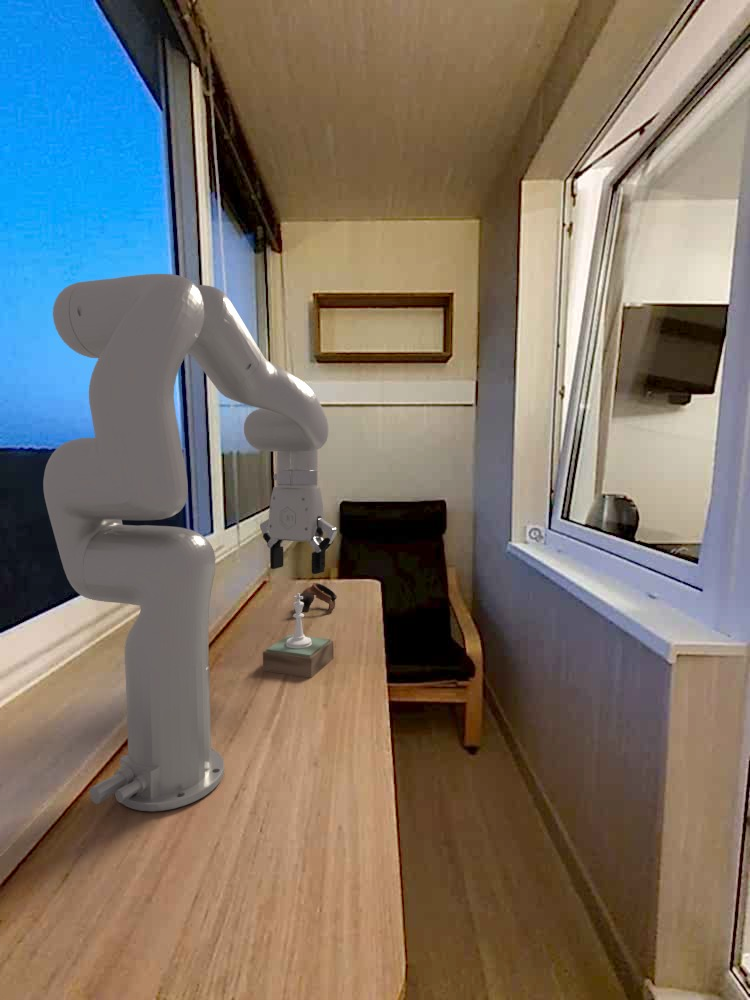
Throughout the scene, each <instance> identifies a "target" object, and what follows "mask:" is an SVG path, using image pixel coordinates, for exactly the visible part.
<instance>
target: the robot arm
mask: <svg viewBox="0 0 750 1000" xmlns="http://www.w3.org/2000/svg"><path fill="white" fill-rule="evenodd" d="M52 318H53V325H54V327H55V330H56V331H57V334H58V335H59V336H60V339H61V340H62V341H63V343H65V345H66V346H68V347H69V348H70V349H71V350H73V351H74V352H75V353H77V354H79V355H80V356H83V357H87V358H90V359H97V361H96V363H95V365H94V367H93V371H92V373H91V377H90V380H89V385H88V400H89V402H88V403H89V409H90V415H91V420H92V426H93V432H94V437H82V438H81V437H80V438H76V439H71V440H69V441H68V440H67V441H66V442H64V443H63V444H61V445H60V446H58V447H57V448H56V449H55V450H54V451H53V452H52V453H51V456H49V459H48V461H47V463H46V465H45V469H44V473H43V474H44V475H43V482H42V483H43V484H42V485H43V486H42V487H43V489H42V490H43V495H44V500H45V501H44V502H45V504H46V509H47V513H48V516H49V521H50V524H51V527H52V531H53V535H54V539H55V543H56V546H57V547H56V548H57V549H58V552H59V556H60V557H59V558H60V560H61V564H62V568H63V570H64V574H65V575H66V579H67V581H68V582H69V584H70V586H71V587H72V588H73V590H74V591H75V592H76V593H77V594H79V596H81V597H84V598H86V599H88V600H92V601H97V602H104V603H114V604H115V603H117V604H127V605H133V606H138V607H140V611H139V613H138V616H137V618H136V619H135V621H134V623H133V624H132V625H131V628H130V630H129V631H128V634H127V636H126V639H125V644H124V666H125V667H124V670H125V673H124V674H125V696H126V700H125V701H126V721H127V722H126V723H127V724H126V725H127V726H126V727H127V748H128V749H127V752H128V753H127V754H125V755H123V756H122V757H120V758H119V764H120V767H119V768H118V769H117V770H115V771H114V773H113V775H112V776H110V777H108V778H105V779H103V780H102V781H100V782H98V783H97V784H95V785H93V786H91V787H90V788H89V797H90V800H91V801H92V802H93V803H94V804H95V805H98V804H100V803H102V802H104V801H105V800H107V799H108V798H110V797H112V796H114V795H115V799H116V801H117V802H118V803H120V804H122V805H123V806H125V807H128V808H130V809H132V810H136V811H141V812H163V811H168V810H174V809H178V808H181V807H185V806H187V805H190V804H192V803H194V802H197V801H199V800H200V799H202V798H204V797H206V796H207V795H208V794H210V793H211V792H212V791H213V790H214V789H215V788H216V787H218V786H219V784H220V783H221V781H222V780H223V777H224V775H225V762H224V758H223V756H222V755H221V754H220V753H219V752H218V751H217V750H215V749H213V748H212V740H211V739H212V737H211V732H212V731H211V698H210V697H211V696H210V657H209V655H210V654H209V653H210V652H209V651H210V650H209V649H210V648H209V618H210V604H211V603H210V602H211V597H212V590H213V584H214V581H215V580H214V579H215V571H216V556H215V551H214V548H213V546H212V544H211V543H210V542H209V540H208V539H207V538H206V537H205V536H204V535H202V534H201V533H199V532H197V531H195V530H193V529H189V528H185V527H180V526H169V525H148V524H146V525H145V524H144V525H131V524H123V521H156V520H157V521H158V520H165V519H169V518H171V517H174V516H175V515H176V514H179V512H181V511H182V510H183V508H184V507H185V505H186V502H187V500H188V495H189V493H188V490H189V488H188V486H189V485H188V476H187V475H188V474H187V470H186V469H187V468H186V463H185V459H184V457H185V456H184V452H183V447H182V441H181V437H180V430H179V424H178V420H177V413H176V406H175V397H174V396H175V384H176V379H177V375H178V374H179V371H180V368H181V366H182V363H184V362H183V361H184V360H185V358H186V356H187V355H189V356H191V357H192V358H193V360H194V361H195V362H196V363H197V364H198V366H199V367H200V368H201V369H202V371H203V373H204V374H205V375H206V376H207V377H208V379H209V381H210V382H211V383H212V385H214V387H215V388H216V389H217V391H218V392H219V393H220V394H221V395H222V396H223V397H226V398H227V399H229V400H232V401H235V402H236V403H237V402H238V403H240V404H243V405H246V406H250V407H254V408H257V409H255V410H253V411H252V412H251V413H249V414H248V415H247V417H246V418H245V420H244V424H243V433H244V437H245V440H246V441H247V443H248V444H249V445H250V446H251V447H252V448H254V449H256V450H258V451H261V452H262V451H263V452H276V469H277V470H276V473H274V474H273V480H274V481H276V486H274V487H272V491H271V492H272V493H271V497H270V504H269V511H268V512H269V513H268V519H266V520H264V521H263V522H261V523H260V524H259V528H260V531H261V533H262V538H263V539H264V541H265V542H266V545H267V546H266V547H267V548H268V549H270V550H269V561H270V565H269V566H270V567H269V568H270V569H271V570H275V569H280V568H283V567H284V546H283V542H285V541H288V542H299V543H301V542H302V543H306V542H309V544H310V546H311V547H312V549H313V550H314V551H313V552H312V553H311V573H312V574H313V575H318V574H321V573H323V572H325V567H326V552H327V551H328V550H329V547H331V545H332V544H334V539H335V538H336V535H337V534H338V529H337V527H335V526H334V525H332V524H331V523H329V522H328V521H326V520H325V516H324V514H325V513H324V504H323V497H322V491H321V488H320V487H318V450H319V449H321V448H323V446H325V444H326V443H327V440H328V437H329V423H328V419H327V416H326V413H325V411H324V409H323V406H322V404H321V403H320V401H319V398H318V397H317V395H316V393H315V392H314V391H313V389H312V388H311V387H310V386H309V385H308V384H307V383H305V382H304V381H303V380H302V379H301V378H299V377H297V376H296V375H294V374H292V373H290V372H288V370H286V369H284V368H282V367H281V366H279V365H277V364H275V363H273V362H271V361H269V360H268V359H266V357H265V356H264V354H263V353H262V351H261V349H260V347H259V346H258V345H257V343H256V341H255V340H254V338H253V336H252V334H251V332H250V331H249V329H248V328H247V326H246V324H245V323H244V321H243V318H241V316H240V314H239V313H238V311H237V310H236V307H235V306H234V305H233V302H232V301H231V300H230V298H229V297H228V296H227V295H226V294H225V293H224V292H223V291H221V290H220V289H219V288H216V287H214V286H211V285H205V284H195V283H194V282H193V281H192V280H190V279H189V278H186V277H185V276H181V275H177V274H172V273H147V274H146V273H145V274H136V275H128V276H120V277H116V278H115V277H114V278H107V279H106V278H104V279H96V280H94V279H93V280H86V281H78V282H75V283H72V284H69V285H68V286H66V287H64V288H63V289H62V290H61V291H60V292H59V294H58V295H57V297H56V298H55V300H54V304H53V307H52ZM324 532H325V533H326V534H325V537H324ZM323 537H324V538H323ZM281 545H282V546H281Z"/></svg>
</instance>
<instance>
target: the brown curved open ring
mask: <svg viewBox="0 0 750 1000" xmlns="http://www.w3.org/2000/svg"><path fill="white" fill-rule="evenodd" d="M300 596H303V599H300V601H301V602H303V603H304V605H303V608H302V612H301V613H307V614H308V612H309V610H310V607H311V605H312V603H313V602H314V599H315V598H316V599H317V600H320V601H322V602H325V603H326V604H328V608H327V613H328V614H332V612H333V611H334V609H335V607H336V599H337V598H338V596H337V594H336V593H335V592H334V591H333V590H331V589H330V588H329V587H327V586H326V585H324V584H322V583H318V582H314V583H312V585H311V586H308V587H307V588H305V589H303V591H302V592H301V593H300Z"/></svg>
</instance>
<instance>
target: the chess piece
mask: <svg viewBox="0 0 750 1000" xmlns="http://www.w3.org/2000/svg"><path fill="white" fill-rule="evenodd" d="M300 594H301V593H300V592H297V593H296V595H294V596H293V599H294V600H296V601H295V602H293V608H294V611H295V613H294V614H293V615H292V617H293V618H295V627H294V634H292V635H293V637H292V638H289V639H288V640H287V641H286V646H287V647H289V648H294V649H301V648H306V647H309V646H311V645H312V642H311V639H310V638H308V637H309V636H307V637H305V636H306V634H304V629H303V623H302V618H304V617H305V614H304V613H303V612H302V608H303V605H304V603H303V602H301V601H300V599H303V596H300Z"/></svg>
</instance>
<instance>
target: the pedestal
mask: <svg viewBox="0 0 750 1000" xmlns="http://www.w3.org/2000/svg"><path fill="white" fill-rule="evenodd" d="M293 635H294V634H290V633H289V634H288V635H286V636H285V637H283V638H281V639H280V640H278V641H277V642H275V643H274V644H272V645H271V646H269V647H268V648H266V649H265V650H264V651H262V671H265V672H270V673H276V674H277V673H278V674H285V675H292V676H297V677H304V678H313V677H315V675H316V674H318V673H319V672H320V671H321V670H322V669H323V668H324V667H326V666H327V665H328V664H329V663H330V662H331V661H332V660H333V659H334V656H335V655H334V640H331V639H330V638H323V637H322V638H321V637H314V636H307V635H305V637H308V638H310V639H311V642H312V645H311V646H309V647H306V648H301V649H294V648H289V647H287V646H286V641H287V640H288V639H289V638H292V637H293Z"/></svg>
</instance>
